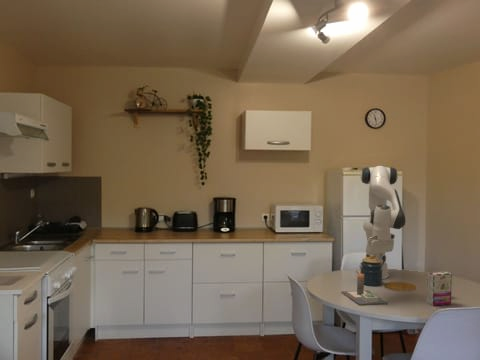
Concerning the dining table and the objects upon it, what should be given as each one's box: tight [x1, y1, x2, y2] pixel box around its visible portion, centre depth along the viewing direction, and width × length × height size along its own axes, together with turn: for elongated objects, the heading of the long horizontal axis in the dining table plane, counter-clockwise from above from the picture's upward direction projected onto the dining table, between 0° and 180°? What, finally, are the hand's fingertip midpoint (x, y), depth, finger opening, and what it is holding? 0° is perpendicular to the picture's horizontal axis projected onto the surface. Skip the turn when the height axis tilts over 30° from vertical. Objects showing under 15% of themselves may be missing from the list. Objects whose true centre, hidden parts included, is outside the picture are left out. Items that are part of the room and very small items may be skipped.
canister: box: [359, 255, 383, 287], centre depth 262 cm, size 13×13×18 cm
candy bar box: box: [426, 270, 453, 307], centre depth 225 cm, size 11×5×16 cm, turn 105°
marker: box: [356, 273, 365, 295], centre depth 237 cm, size 4×4×11 cm
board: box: [340, 289, 389, 307], centre depth 233 cm, size 22×16×3 cm
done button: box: [366, 292, 374, 297], centre depth 226 cm, size 4×4×3 cm
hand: (378, 260), depth 232 cm, fingers closed
